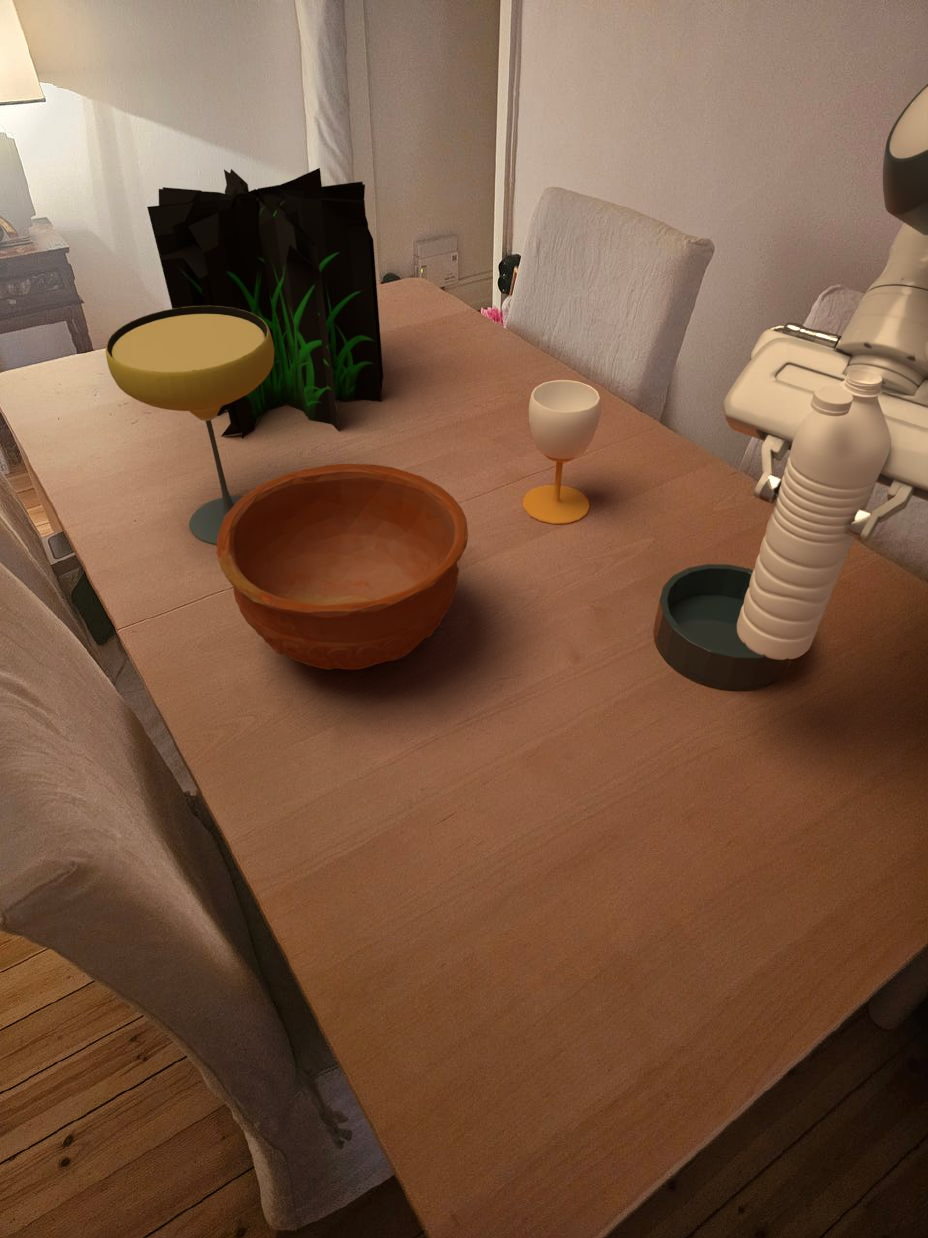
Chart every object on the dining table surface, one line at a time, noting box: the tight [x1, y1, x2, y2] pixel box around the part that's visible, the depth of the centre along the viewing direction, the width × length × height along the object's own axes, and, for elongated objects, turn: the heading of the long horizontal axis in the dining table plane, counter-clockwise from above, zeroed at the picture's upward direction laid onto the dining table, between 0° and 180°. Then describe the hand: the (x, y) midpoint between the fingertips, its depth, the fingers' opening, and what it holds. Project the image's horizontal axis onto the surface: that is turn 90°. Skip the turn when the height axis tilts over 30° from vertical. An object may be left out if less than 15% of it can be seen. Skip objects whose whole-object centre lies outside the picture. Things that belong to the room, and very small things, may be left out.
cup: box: [521, 379, 602, 525], centre depth 105 cm, size 9×9×16 cm
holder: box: [653, 563, 793, 692], centre depth 90 cm, size 15×15×5 cm
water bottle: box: [737, 369, 891, 660], centre depth 64 cm, size 9×6×25 cm
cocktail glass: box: [105, 306, 274, 545], centre depth 100 cm, size 18×18×25 cm
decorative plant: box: [146, 167, 384, 440], centre depth 123 cm, size 29×30×30 cm
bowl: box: [216, 463, 469, 671], centre depth 87 cm, size 25×25×15 cm
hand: (809, 517), depth 63 cm, fingers closed on water bottle, 6 cm apart
